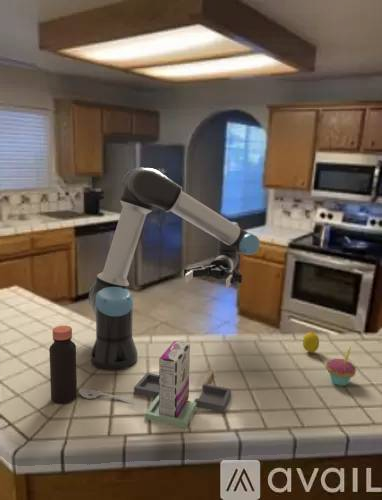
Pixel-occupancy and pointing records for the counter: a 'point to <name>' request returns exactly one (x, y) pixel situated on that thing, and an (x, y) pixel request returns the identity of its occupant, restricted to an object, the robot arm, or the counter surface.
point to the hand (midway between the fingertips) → (206, 281)
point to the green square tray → (180, 421)
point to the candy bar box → (174, 379)
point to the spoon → (96, 393)
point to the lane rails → (208, 378)
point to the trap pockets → (209, 399)
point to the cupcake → (340, 370)
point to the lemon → (311, 342)
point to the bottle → (63, 366)
